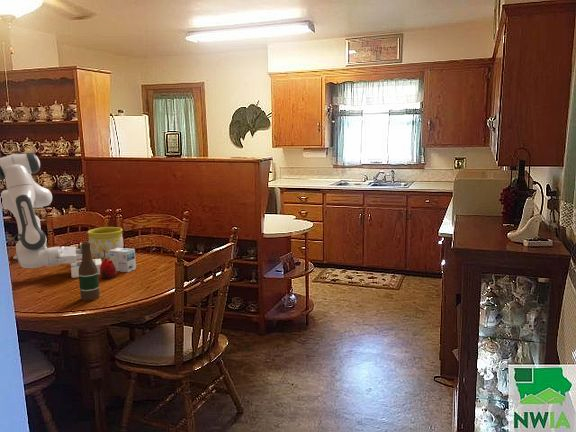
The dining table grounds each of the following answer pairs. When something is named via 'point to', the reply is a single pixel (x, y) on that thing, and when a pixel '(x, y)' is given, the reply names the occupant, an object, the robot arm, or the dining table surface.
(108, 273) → the red clay folk toy
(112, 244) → the flowerpot
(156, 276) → the dining table surface
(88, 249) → the beer bottle
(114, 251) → the light bulb box
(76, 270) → the socket block
